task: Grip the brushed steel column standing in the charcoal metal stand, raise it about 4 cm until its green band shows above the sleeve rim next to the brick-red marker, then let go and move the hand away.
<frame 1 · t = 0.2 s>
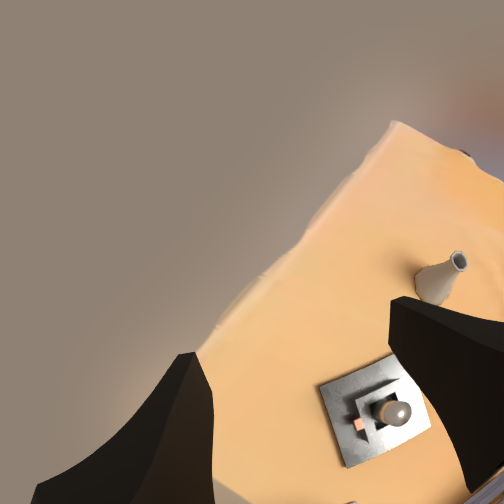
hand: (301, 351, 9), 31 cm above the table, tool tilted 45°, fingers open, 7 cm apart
plant pot: (488, 495, 16), on the table
flask: (431, 287, 39), on the table
steel column: (389, 412, 27), point 5 cm above the table, slide at 0.0 cm
charcoal stand: (377, 409, 32), on the table
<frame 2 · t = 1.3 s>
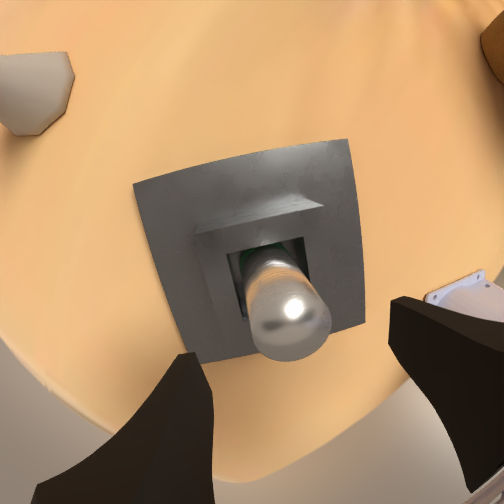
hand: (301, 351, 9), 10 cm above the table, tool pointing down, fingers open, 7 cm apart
plant pot: (497, 60, 15), on the table
flask: (41, 94, 14), on the table
steel column: (276, 289, 14), point 5 cm above the table, slide at 0.0 cm
charcoal stand: (262, 258, 19), on the table
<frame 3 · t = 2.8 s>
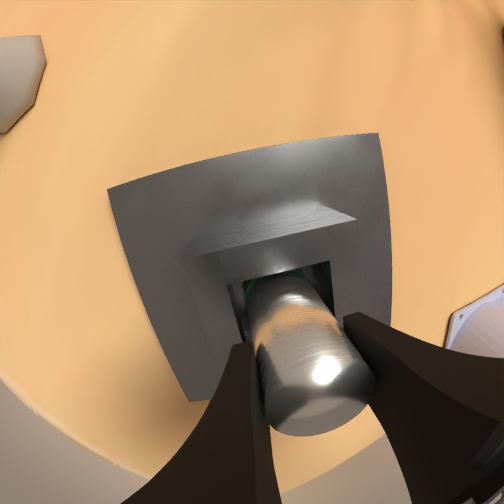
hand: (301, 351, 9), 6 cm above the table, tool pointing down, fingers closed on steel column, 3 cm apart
flask: (12, 85, 10), on the table
steel column: (293, 332, 10), point 5 cm above the table, slide at 0.0 cm, touching gripper
charcoal stand: (272, 281, 15), on the table
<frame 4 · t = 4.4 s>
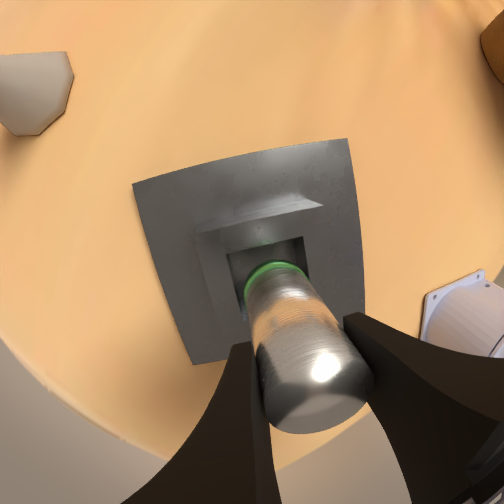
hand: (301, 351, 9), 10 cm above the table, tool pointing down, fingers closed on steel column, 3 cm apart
plant pot: (497, 60, 15), on the table
flask: (41, 94, 14), on the table
steel column: (292, 330, 10), point 9 cm above the table, slide at 3.9 cm, touching gripper
charcoal stand: (262, 258, 19), on the table
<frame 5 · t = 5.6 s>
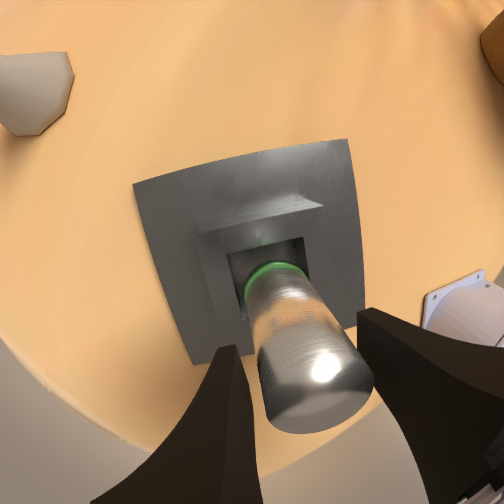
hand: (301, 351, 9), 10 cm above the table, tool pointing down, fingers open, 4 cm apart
plant pot: (497, 60, 15), on the table
flask: (41, 94, 14), on the table
steel column: (293, 330, 10), point 9 cm above the table, slide at 3.9 cm
charcoal stand: (262, 258, 19), on the table
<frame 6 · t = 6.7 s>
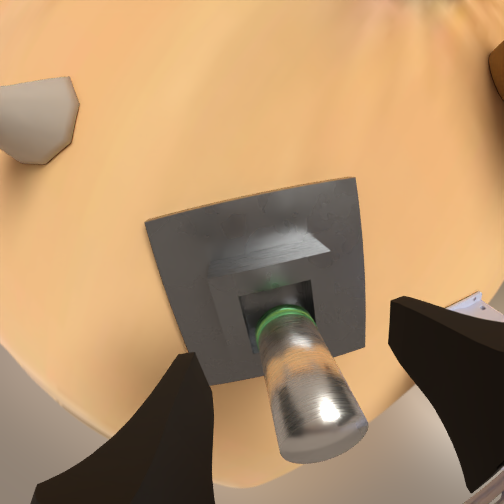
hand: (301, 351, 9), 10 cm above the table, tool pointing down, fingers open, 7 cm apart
flask: (45, 120, 15), on the table
steel column: (301, 375, 11), point 9 cm above the table, slide at 3.9 cm
charcoal stand: (270, 291, 20), on the table
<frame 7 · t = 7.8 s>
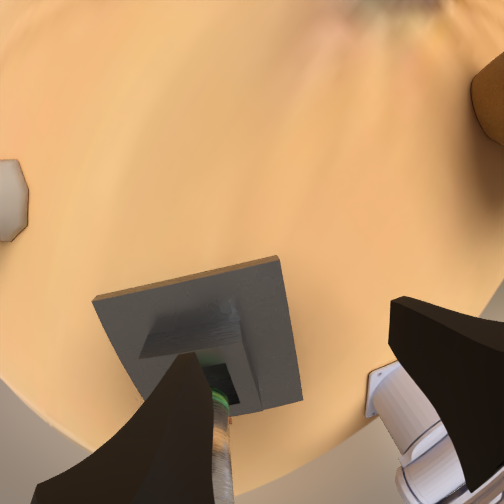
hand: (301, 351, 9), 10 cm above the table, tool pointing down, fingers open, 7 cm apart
plant pot: (489, 109, 17), on the table
flask: (5, 199, 16), on the table
steel column: (201, 447, 12), point 9 cm above the table, slide at 3.9 cm
charcoal stand: (206, 355, 21), on the table
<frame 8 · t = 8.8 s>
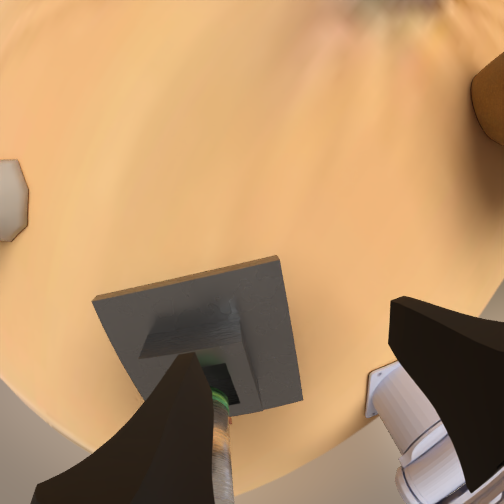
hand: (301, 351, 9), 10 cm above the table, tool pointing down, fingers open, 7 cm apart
plant pot: (489, 109, 17), on the table
flask: (5, 199, 16), on the table
steel column: (201, 447, 12), point 9 cm above the table, slide at 3.9 cm
charcoal stand: (206, 355, 21), on the table
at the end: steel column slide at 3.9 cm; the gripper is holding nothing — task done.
